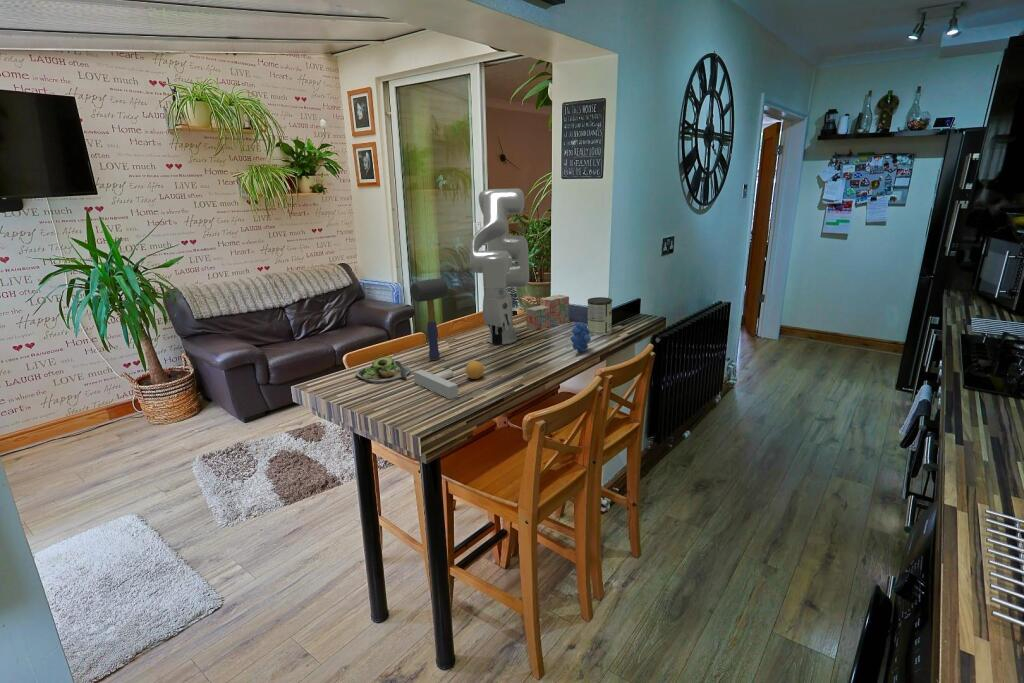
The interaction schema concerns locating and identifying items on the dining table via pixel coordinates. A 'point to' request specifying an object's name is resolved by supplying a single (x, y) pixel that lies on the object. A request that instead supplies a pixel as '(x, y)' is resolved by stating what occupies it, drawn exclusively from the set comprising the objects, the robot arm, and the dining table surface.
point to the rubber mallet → (430, 308)
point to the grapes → (580, 337)
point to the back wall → (436, 384)
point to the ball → (474, 369)
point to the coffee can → (599, 315)
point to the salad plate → (383, 370)
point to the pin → (445, 374)
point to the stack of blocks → (548, 313)
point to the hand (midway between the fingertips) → (497, 344)
